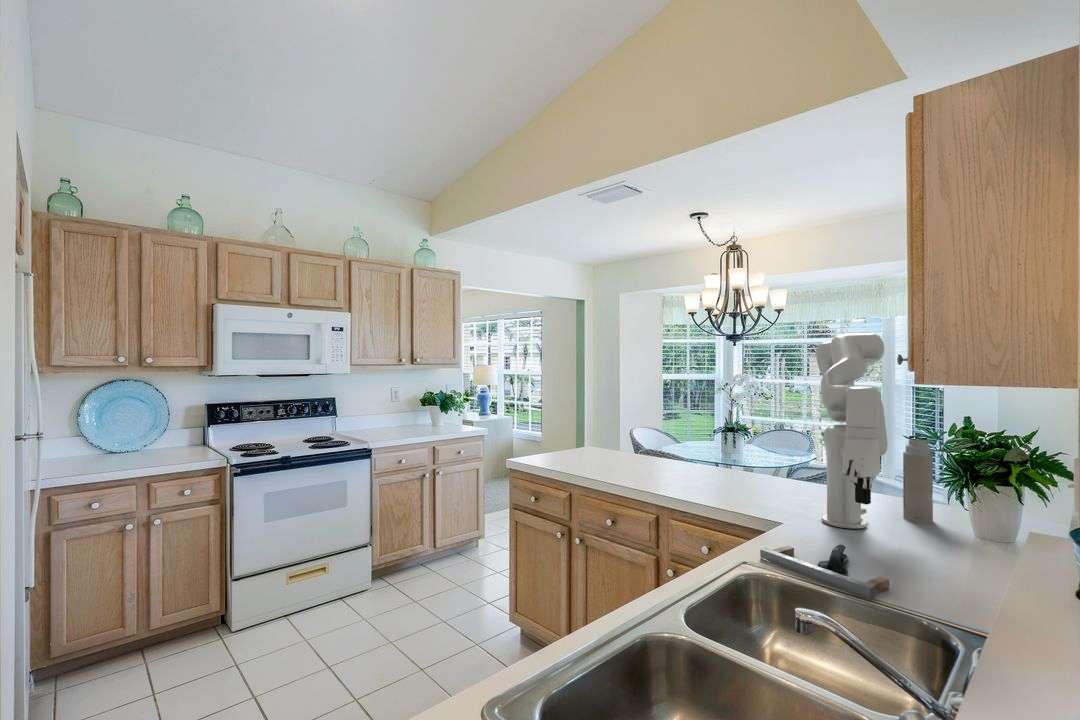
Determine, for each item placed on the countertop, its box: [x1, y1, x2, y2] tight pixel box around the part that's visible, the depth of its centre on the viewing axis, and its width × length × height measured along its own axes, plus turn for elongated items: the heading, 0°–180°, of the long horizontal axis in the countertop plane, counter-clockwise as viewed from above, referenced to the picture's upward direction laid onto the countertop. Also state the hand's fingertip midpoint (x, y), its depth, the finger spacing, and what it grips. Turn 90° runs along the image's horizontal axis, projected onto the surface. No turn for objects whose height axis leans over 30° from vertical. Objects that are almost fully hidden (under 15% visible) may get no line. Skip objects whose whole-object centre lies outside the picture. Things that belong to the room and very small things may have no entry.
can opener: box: [817, 544, 850, 576], centre depth 137 cm, size 18×7×6 cm, turn 141°
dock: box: [759, 545, 890, 602], centre depth 132 cm, size 10×28×3 cm, turn 30°
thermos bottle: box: [902, 435, 934, 525], centre depth 176 cm, size 8×8×28 cm
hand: (862, 502), depth 140 cm, fingers closed
